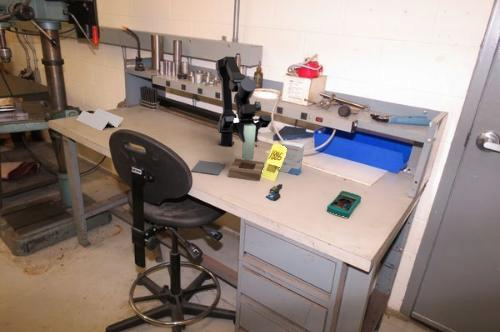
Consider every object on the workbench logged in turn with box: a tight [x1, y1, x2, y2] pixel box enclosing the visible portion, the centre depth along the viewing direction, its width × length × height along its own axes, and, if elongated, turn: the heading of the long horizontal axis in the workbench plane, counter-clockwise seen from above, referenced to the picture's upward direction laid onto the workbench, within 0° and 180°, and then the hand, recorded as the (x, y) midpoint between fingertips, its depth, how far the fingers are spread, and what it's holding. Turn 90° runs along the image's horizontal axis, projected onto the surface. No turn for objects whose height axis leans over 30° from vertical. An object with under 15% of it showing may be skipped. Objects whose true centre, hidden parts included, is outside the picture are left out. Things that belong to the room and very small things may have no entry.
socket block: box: [228, 158, 265, 182], centre depth 135 cm, size 12×12×3 cm
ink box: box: [279, 140, 305, 176], centre depth 138 cm, size 9×5×12 cm, turn 65°
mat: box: [190, 160, 226, 176], centre depth 138 cm, size 11×11×1 cm
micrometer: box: [265, 183, 283, 202], centre depth 122 cm, size 12×2×5 cm
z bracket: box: [76, 108, 124, 131], centre depth 182 cm, size 12×25×6 cm
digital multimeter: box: [326, 190, 362, 218], centre depth 116 cm, size 7×15×3 cm, turn 147°
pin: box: [241, 124, 256, 161], centre depth 131 cm, size 4×4×13 cm
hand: (250, 141), depth 129 cm, fingers closed on pin, 4 cm apart
